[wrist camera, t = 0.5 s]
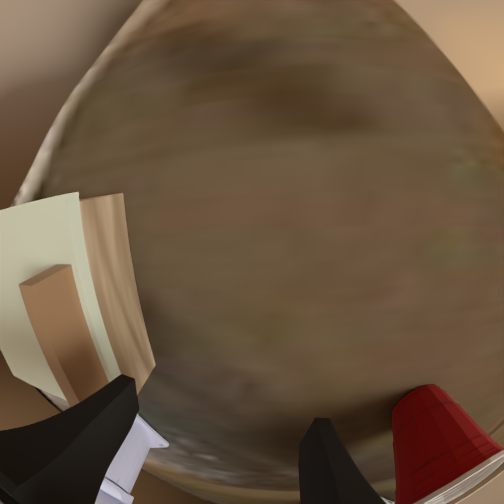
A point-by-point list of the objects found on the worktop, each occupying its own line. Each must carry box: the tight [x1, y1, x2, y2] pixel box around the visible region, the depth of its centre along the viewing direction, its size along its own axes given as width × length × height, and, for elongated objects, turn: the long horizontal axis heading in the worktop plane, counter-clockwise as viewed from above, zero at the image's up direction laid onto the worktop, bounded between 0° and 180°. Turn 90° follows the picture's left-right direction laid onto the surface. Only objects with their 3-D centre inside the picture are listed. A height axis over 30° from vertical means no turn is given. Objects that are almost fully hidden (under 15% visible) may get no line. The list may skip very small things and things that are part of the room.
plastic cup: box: [391, 385, 504, 504], centre depth 14 cm, size 11×11×12 cm
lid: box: [0, 192, 138, 414], centre depth 12 cm, size 15×15×4 cm
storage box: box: [79, 193, 156, 395], centre depth 17 cm, size 14×14×5 cm
